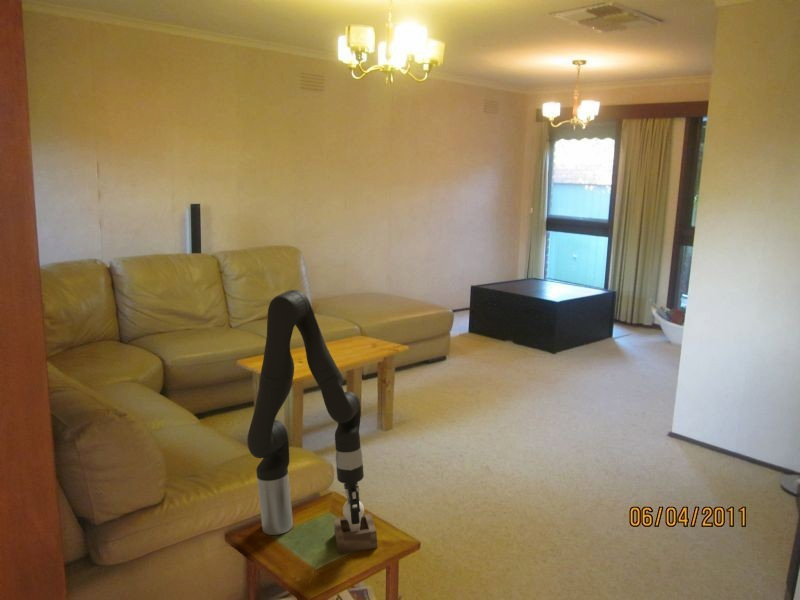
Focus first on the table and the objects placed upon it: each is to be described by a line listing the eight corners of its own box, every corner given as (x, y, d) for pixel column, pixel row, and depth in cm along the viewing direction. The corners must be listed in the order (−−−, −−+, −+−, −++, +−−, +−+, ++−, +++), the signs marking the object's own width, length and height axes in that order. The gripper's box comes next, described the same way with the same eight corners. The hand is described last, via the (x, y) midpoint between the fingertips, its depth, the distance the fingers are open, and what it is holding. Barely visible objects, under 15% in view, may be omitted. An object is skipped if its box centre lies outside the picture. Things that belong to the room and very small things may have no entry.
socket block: (334, 534, 191) (333, 518, 191) (371, 528, 193) (370, 513, 193) (338, 554, 181) (337, 537, 180) (377, 547, 183) (376, 531, 182)
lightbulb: (355, 528, 191) (352, 493, 189) (370, 534, 187) (367, 498, 186) (340, 537, 186) (337, 501, 185) (355, 543, 183) (352, 506, 181)
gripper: (333, 455, 189) (338, 507, 192) (338, 475, 176) (343, 530, 178) (359, 451, 191) (363, 503, 193) (366, 471, 177) (370, 526, 180)
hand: (353, 516), depth 186 cm, fingers open, 8 cm apart
